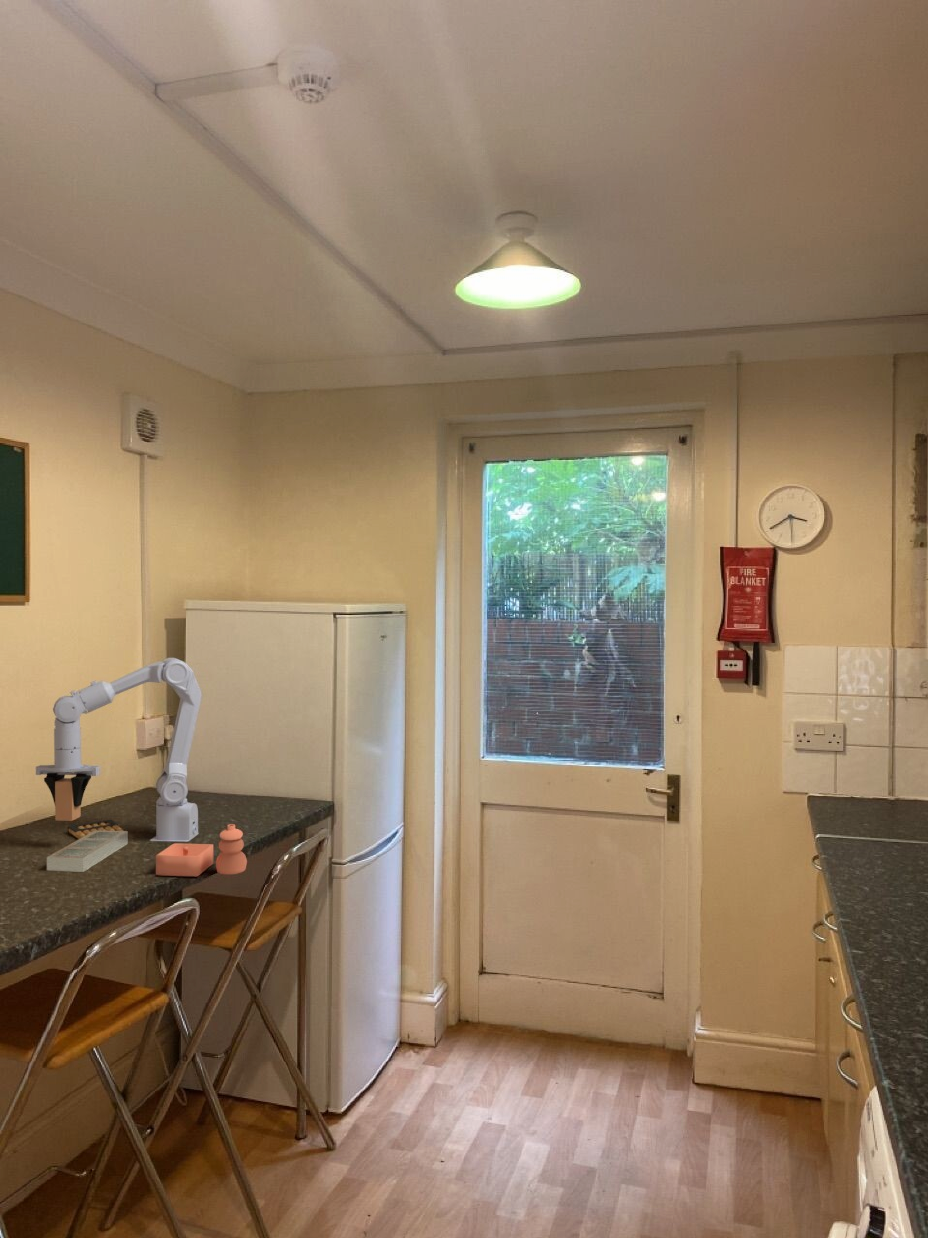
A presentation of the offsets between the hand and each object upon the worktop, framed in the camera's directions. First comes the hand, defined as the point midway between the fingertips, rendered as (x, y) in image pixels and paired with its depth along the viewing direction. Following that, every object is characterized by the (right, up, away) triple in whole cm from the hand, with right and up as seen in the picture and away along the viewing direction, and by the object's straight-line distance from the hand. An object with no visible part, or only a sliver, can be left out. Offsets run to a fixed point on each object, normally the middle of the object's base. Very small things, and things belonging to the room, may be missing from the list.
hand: (68, 805), depth 210 cm
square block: (0, -3, 0) cm, 3 cm away
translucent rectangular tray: (+8, -10, -7) cm, 15 cm away
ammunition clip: (-1, -8, +15) cm, 18 cm away
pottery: (+36, -11, -15) cm, 41 cm away
